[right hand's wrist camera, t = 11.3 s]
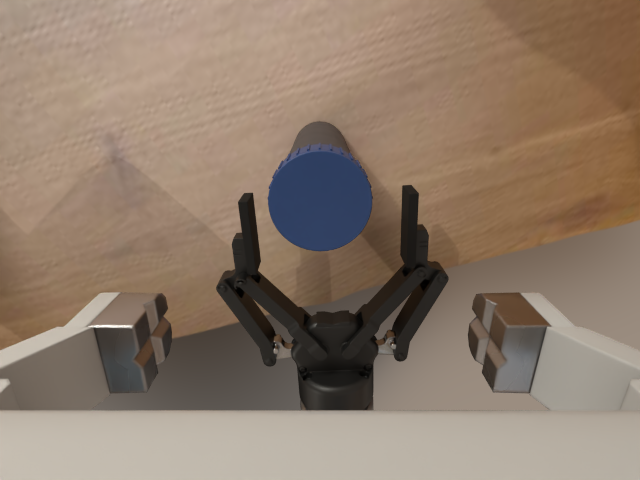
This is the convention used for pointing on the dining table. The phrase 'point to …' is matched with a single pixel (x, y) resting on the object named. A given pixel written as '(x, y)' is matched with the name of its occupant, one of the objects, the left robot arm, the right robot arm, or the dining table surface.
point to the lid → (320, 197)
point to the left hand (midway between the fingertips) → (327, 192)
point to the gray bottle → (319, 136)
